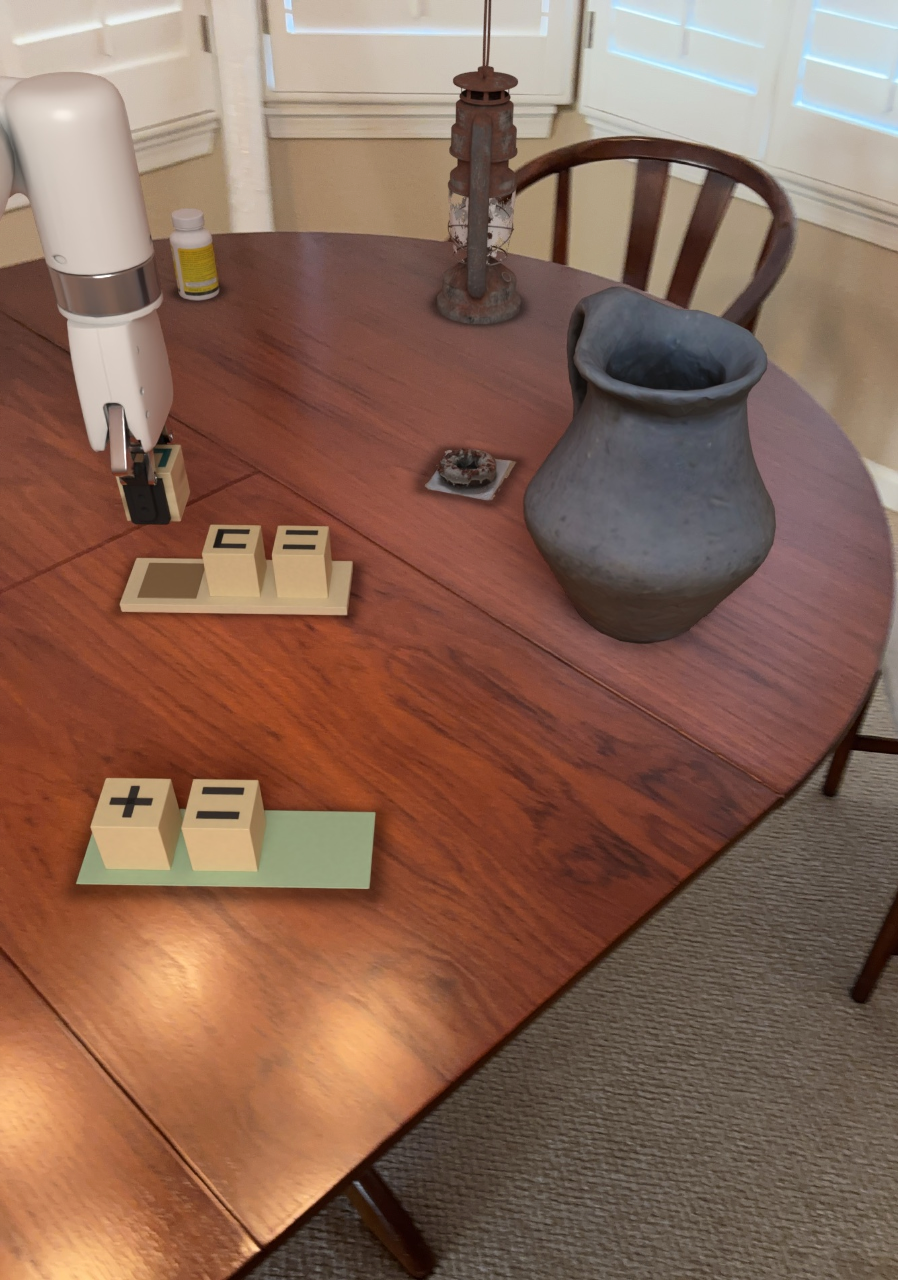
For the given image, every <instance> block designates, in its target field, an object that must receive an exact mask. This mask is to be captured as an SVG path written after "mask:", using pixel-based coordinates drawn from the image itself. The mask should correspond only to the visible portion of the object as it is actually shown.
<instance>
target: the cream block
mask: <svg viewBox="0 0 898 1280" xmlns="http://www.w3.org/2000/svg"><path fill="white" fill-rule="evenodd" d="M153 451H154V458H155V465H156V471H157V478H162V480H163V484H164V489H165V493H166V497H167V502H168V506H169V511H170V515H171V520H170V522H181V521H182V519H183V515H184V513H185V509H186V506H187V504H188V500H189V497H190V495H191V489H190V485H189V484H190V483H189V480H188V479H189V478H188V475H187V469H186V465H185V460H184V455H183V449H182V445H181V444H173V445H155V446H154V447H153ZM131 457H132V460H133V461H134V462H140V463H141V464H143V465H144V466H145V463H144V457H143V454H131ZM115 479H116V483H117V487H118V490H119V494H120V498H121V503H122V507H123V510H124V513H125V518H126V521H127V522H132V521H131V518H130V514H129V510H128V506H127V502H126V498H125V494H124V490H123V487H122V485H121V483H120V480H119V477H118V476H115Z"/></svg>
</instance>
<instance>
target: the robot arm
mask: <svg viewBox="0 0 898 1280" xmlns="http://www.w3.org/2000/svg"><path fill="white" fill-rule="evenodd" d="M126 108H127V107H126V104H125V101H124V98H123V96H122V94H121V92H120V91H119V89H118V88H117V86H116V85H115V84H114V83H113V82H111V81H110V80H109V79H107V78H106V77H103V76H101V75H97V74H93V73H89V72H83V71H57V72H48V73H42V74H38V75H33V76H31V77H16V76H6V75H0V221H1V220H2V218H3V216H4V214H5V212H6V208H7V205H8V202H9V199H10V198H11V197H13V196H14V195H16V194H21V195H24V196H25V197H26V198H27V200H28V202H29V205H30V209H31V212H32V216H33V220H34V224H35V227H36V231H37V235H38V238H39V243H40V245H41V250H42V253H43V256H44V261H45V264H46V268H47V271H48V272H47V273H48V275H49V279H50V283H51V287H52V291H53V294H54V298H55V301H56V306H57V310H58V312H59V314H60V315H62V317H64V318H66V319H67V322H66V326H67V327H66V328H67V337H68V346H69V353H70V358H71V365H72V371H73V376H74V380H75V385H76V389H77V390H76V391H77V395H78V399H79V403H80V404H79V405H80V408H81V414H82V419H83V421H84V427H85V431H86V435H87V438H88V443H89V446H90V448H91V449H92V450H93V451H94V452H95V453H102V452H105V450H106V448H107V446H108V444H109V454H110V470H111V471H110V472H111V474H112V475H113V476H114V477H116V476H118V477H119V480H120V483H121V485H122V487H123V490H124V494H125V498H126V502H127V506H128V510H129V514H130V518H131V521H130V522H131V523H132V524H133V525H139V526H140V525H142V526H143V525H148V526H151V525H152V526H153V525H156V526H157V525H158V526H167V525H169V524H170V523H171V521H170V520H171V515H170V511H169V506H168V502H167V497H166V493H165V489H164V484H163V480H162V478H157V471H156V465H155V458H154V451H153V447H154V446H155V445H174V444H172V443H173V442H174V433H173V428H172V425H171V421H170V418H169V413H170V411H171V408H172V406H173V402H174V394H175V393H174V384H173V383H174V382H173V376H172V371H171V365H170V360H169V355H168V350H167V346H166V342H165V338H164V332H163V329H162V325H161V321H160V317H159V313H158V308H160V307H161V305H162V304H163V302H164V293H163V288H162V284H161V278H160V273H159V269H158V264H157V259H156V253H155V249H154V243H153V238H152V233H151V227H150V223H149V218H148V214H147V207H146V203H145V202H146V201H145V197H144V191H143V187H142V181H141V176H140V172H139V166H138V162H137V156H136V150H135V146H134V141H133V136H132V130H131V126H130V120H129V116H128V111H127V109H126ZM131 438H135V440H136V441H131ZM131 454H143V457H144V463H145V466H144V465H143V464H141V463H140V462H134V461H133V460H132V457H131Z"/></svg>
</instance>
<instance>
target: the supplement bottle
mask: <svg viewBox="0 0 898 1280" xmlns="http://www.w3.org/2000/svg"><path fill="white" fill-rule="evenodd" d="M170 217H171V223H172V227H173V229H174V230H172V231H171V233H170V234H169V245H170V250H171V257H172V263H173V269H174V275H175V282H176V286H177V287H176V288H177V290H178V294H179V296H180V297H181V298H182V299H185V300H187V301H188V300H189V301H206V300H209V299H213V298H215V297H216V296H217V295H219V293H220V284H219V283H220V282H219V276H218V268H217V263H216V255H215V247H214V242H213V241H214V240H213V235H212V233H211V232H210V231H209V230H208V229H207V228H205V227H204V226H205V225H206V224H205V215H204V212H203V211H202V209H198V208H193V207H187V208H186V207H185V208H179V209H176V210H173V211H172V212H171V215H170Z"/></svg>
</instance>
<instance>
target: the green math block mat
mask: <svg viewBox="0 0 898 1280" xmlns="http://www.w3.org/2000/svg"><path fill="white" fill-rule="evenodd" d="M375 824H376V812H375V811H335V810H332V811H331V810H279V809H278V810H277V809H275V810H274V809H273V810H272V809H271V810H270V809H265V807H264V802H263V798H262V792H261V786H260V781H259V779H221V778H220V779H217V778H215V779H214V778H212V779H211V778H193V779H192V783H191V787H190V791H189V795H188V799H187V803H186V808H179V804H178V801H177V797H176V793H175V789H174V785H173V782H172V779H171V778H149V777H148V778H145V777H144V778H143V777H141V778H140V777H139V778H137V777H106V778H105V779H104V783H103V786H102V790H101V793H100V796H99V799H98V801H97V805H96V808H95V810H94V813H93V816H92V820H91V823H90V830H91V835H90V839H89V842H88V845H87V848H86V851H85V854H84V858H83V860H82V863H81V867H80V869H79V873H78V876H77V879H76V882H75V884H76V885H107V886H108V885H111V886H112V885H113V886H115V885H116V886H118V885H119V886H168V887H169V886H170V887H171V886H173V887H176V886H177V887H178V886H179V887H236V888H238V887H239V888H294V889H295V888H299V889H300V888H303V889H304V888H305V889H359V890H360V889H362V890H364V889H366V890H368V889H370V887H371V886H370V885H371V875H372V874H371V872H372V861H373V859H372V858H373V849H374V837H375Z"/></svg>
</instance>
